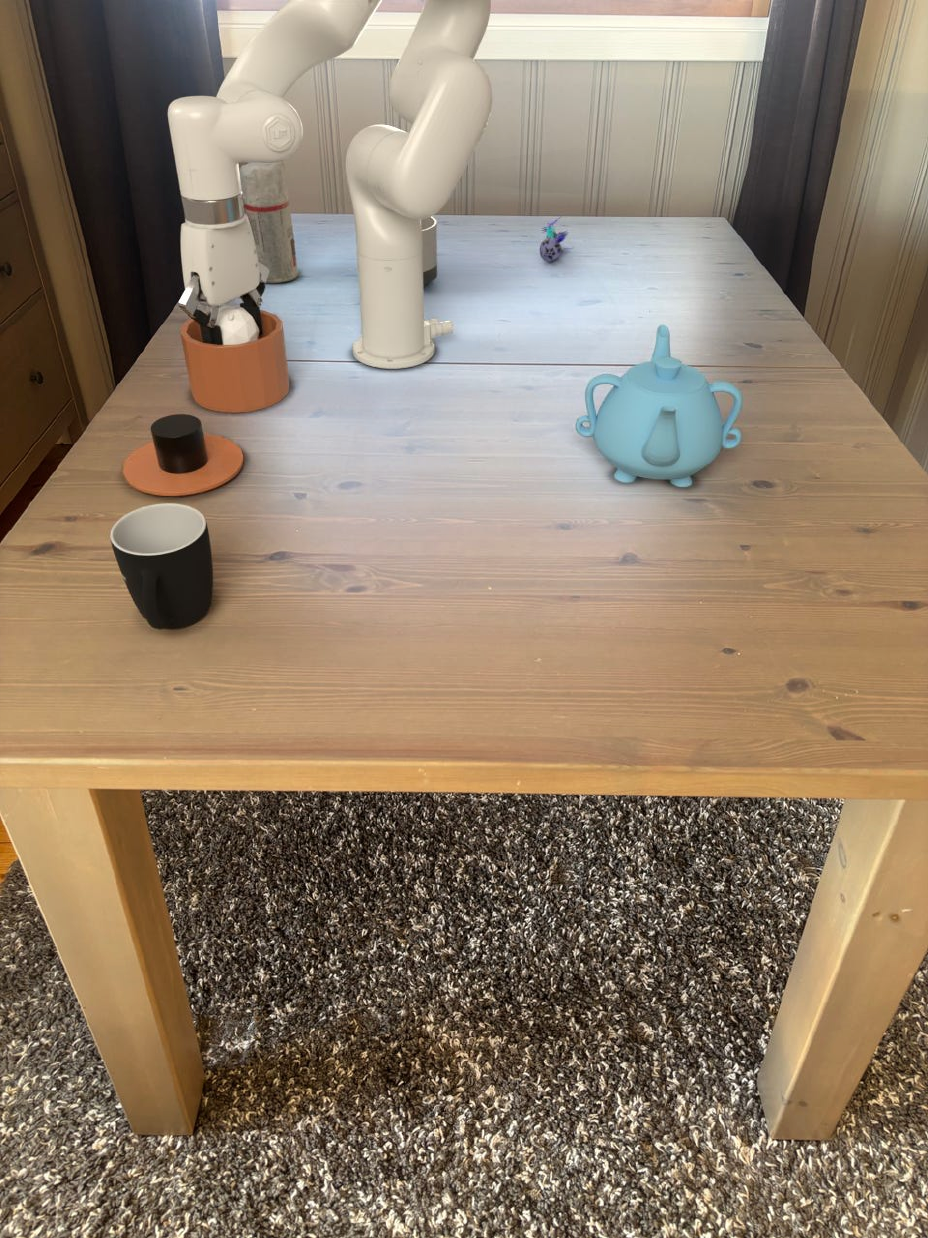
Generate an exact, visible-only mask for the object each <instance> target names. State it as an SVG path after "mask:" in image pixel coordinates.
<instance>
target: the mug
mask: <svg viewBox="0 0 928 1238" xmlns="http://www.w3.org/2000/svg"><path fill="white" fill-rule="evenodd" d="M109 538H110V544H111V548H112V551H113V554H114V557H115V560H116V563H117V566H118V568H119V571H120V573H121V576H122V578H123V581H124V584H125V586H126V589H127V591H128V593H129V595H130V597H131V599H132V601H133V603H134V604H135V606H136V608H137V611H138V612H139V614H140V615H141V616H142V617H143V618H144V619H145V620H146V621H147V624H148V625H149V626H150V627H151V628H153V629H155V630H163V629H164V630H180V629H185V628H188V627H190V626H193V625H195V624H197V623H198V622H200V621H201V620H202V619H203V618H204V617H205V616H206V615H207V614H208V612H209V610H210V608H211V606H212V602H213V596H214V566H213V554H212V546H211V540H210V531H209V527H208V524H207V519H206V517H205V516H204V513H202V512H201V511H200V510H198V509H196V508H195V507H193V506H190V505H186V504H183V503H173V502H167V503H165V502H163V503H155V504H149V505H146V506H142V507H139V508H137V509H136V508H135V509H134V510H132V511H130V512H128V513H126V514H125V515H123V516H122V517H120V518H119V519H118V520H116V522H115V523H114V524H113V526H112V527H111V529H110V535H109Z"/></svg>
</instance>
